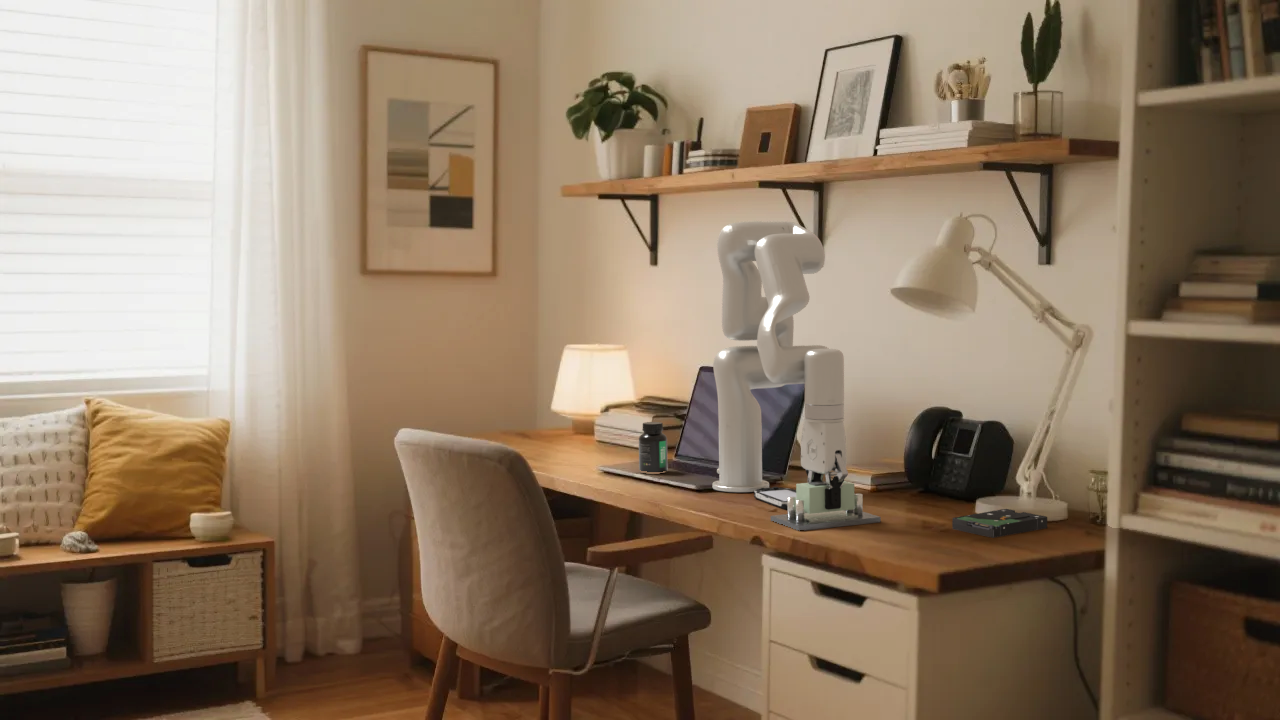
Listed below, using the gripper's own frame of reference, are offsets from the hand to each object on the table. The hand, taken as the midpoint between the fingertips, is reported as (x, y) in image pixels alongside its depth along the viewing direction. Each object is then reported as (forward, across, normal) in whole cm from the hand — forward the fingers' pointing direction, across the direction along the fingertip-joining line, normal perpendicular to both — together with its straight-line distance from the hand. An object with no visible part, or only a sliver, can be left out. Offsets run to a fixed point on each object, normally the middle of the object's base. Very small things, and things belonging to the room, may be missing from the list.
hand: (824, 505), depth 259 cm
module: (+1, 0, 0) cm, 1 cm away
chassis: (+3, 0, 0) cm, 3 cm away
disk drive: (+4, +21, +25) cm, 33 cm away
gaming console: (+4, -21, +3) cm, 22 cm away
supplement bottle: (+4, -71, -5) cm, 71 cm away
